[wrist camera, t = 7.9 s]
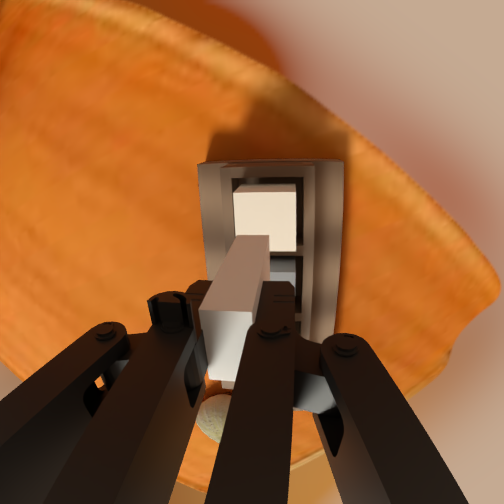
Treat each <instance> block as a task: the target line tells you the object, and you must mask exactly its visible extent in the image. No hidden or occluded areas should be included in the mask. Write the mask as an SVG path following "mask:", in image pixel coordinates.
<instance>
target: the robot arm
mask: <svg viewBox="0 0 504 504" xmlns="http://www.w3.org/2000/svg"><path fill="white" fill-rule="evenodd" d="M147 303H148V308H149V312H150V316H151V321H152V326H151V327H150V329H149V330H148V332H146V333H139V334H127V331H126V328H125V326H124V325H122V324H121V323H118V322H104V323H102V324H98V325H97V326H95V327H93V328H91V329H90V330H89V331H88V332H86V333H85V334H84V335H82V336H81V337H80V338H78V339H77V340H76V341H75V342H73V343H72V344H71V345H69V346H68V347H67V348H66V349H64V350H63V351H62V352H60V353H59V354H58V355H57V356H55V357H54V358H53V359H52V360H50V361H49V362H48V363H46V364H45V365H44V366H43V367H41V368H40V369H39V370H38V371H36V372H35V373H34V374H33V375H31V376H30V377H29V378H28V379H27V380H25V381H24V382H23V383H22V384H20V385H19V386H18V387H17V388H16V389H14V390H13V391H12V392H11V393H9V394H8V395H7V396H6V397H5V398H3V399H2V400H1V401H0V504H168V503H169V500H170V496H171V493H172V491H173V488H174V485H175V482H176V479H177V476H178V473H179V469H180V466H181V463H182V460H183V457H184V454H185V451H186V448H187V445H188V442H189V439H190V436H191V433H192V430H193V427H194V424H195V421H196V418H197V415H198V412H199V409H200V406H201V403H202V400H203V397H204V393H205V388H206V385H205V380H204V376H205V374H206V371H207V368H208V374H209V379H211V380H222V381H235V384H234V388H233V392H232V396H231V400H230V404H229V408H228V412H227V416H226V420H225V424H224V428H223V432H222V436H221V440H220V444H219V448H218V452H217V456H216V460H215V464H214V468H213V472H212V476H211V480H210V483H209V487H208V491H207V495H206V499H205V503H204V504H287V501H288V487H289V474H290V460H291V443H292V423H293V407H295V408H298V409H302V410H305V411H309V412H313V418H314V421H315V424H316V427H317V430H318V433H319V435H320V438H321V441H322V444H323V447H324V450H325V453H326V455H327V458H328V461H329V464H330V467H331V470H332V473H333V476H334V479H335V482H336V485H337V487H338V490H339V493H340V496H341V499H342V502H343V504H469V503H468V501H467V500H466V498H465V496H464V495H463V492H462V491H461V489H460V487H459V486H458V484H457V482H456V480H455V479H454V477H453V475H452V473H451V472H450V470H449V469H448V467H447V465H446V463H445V462H444V460H443V458H442V457H441V455H440V453H439V452H438V450H437V448H436V447H435V445H434V444H433V442H432V440H431V439H430V437H429V435H428V434H427V432H426V431H425V429H424V427H423V426H422V424H421V423H420V421H419V419H418V418H417V416H416V415H415V413H414V412H413V410H412V408H411V407H410V406H409V404H408V402H407V401H406V399H405V398H404V396H403V394H402V393H401V391H400V390H399V388H398V387H397V385H396V384H395V382H394V381H393V379H392V378H391V376H390V375H389V373H388V372H387V370H386V369H385V367H384V366H383V364H382V363H381V361H380V360H379V358H378V357H377V355H376V354H375V352H374V351H373V349H372V348H371V346H370V345H369V344H368V343H367V342H366V341H365V340H364V339H363V338H361V337H359V336H357V335H354V334H348V333H337V334H334V335H331V336H328V337H327V338H326V339H324V340H323V342H322V344H321V343H316V342H312V341H309V340H307V339H305V338H303V337H302V336H300V335H299V334H298V333H297V331H296V329H295V287H294V286H293V285H292V284H291V282H290V281H270V247H269V235H237V236H236V238H235V240H234V242H233V244H232V246H231V247H230V249H229V251H228V253H227V255H226V257H225V259H224V261H223V263H222V265H221V267H220V269H219V271H218V272H217V274H216V276H215V278H214V280H213V281H211V280H198V281H196V282H195V283H193V284H192V285H190V286H189V288H188V289H187V291H186V292H185V293H183V292H178V291H167V292H163V293H159V294H157V295H154V296H152V297H151V298H150V299H149V300H147ZM99 376H101V378H102V380H103V383H104V385H103V386H102V387H100V388H97V386H96V384H95V382H94V381H95V380H96V379H97V378H98V377H99Z"/></svg>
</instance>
